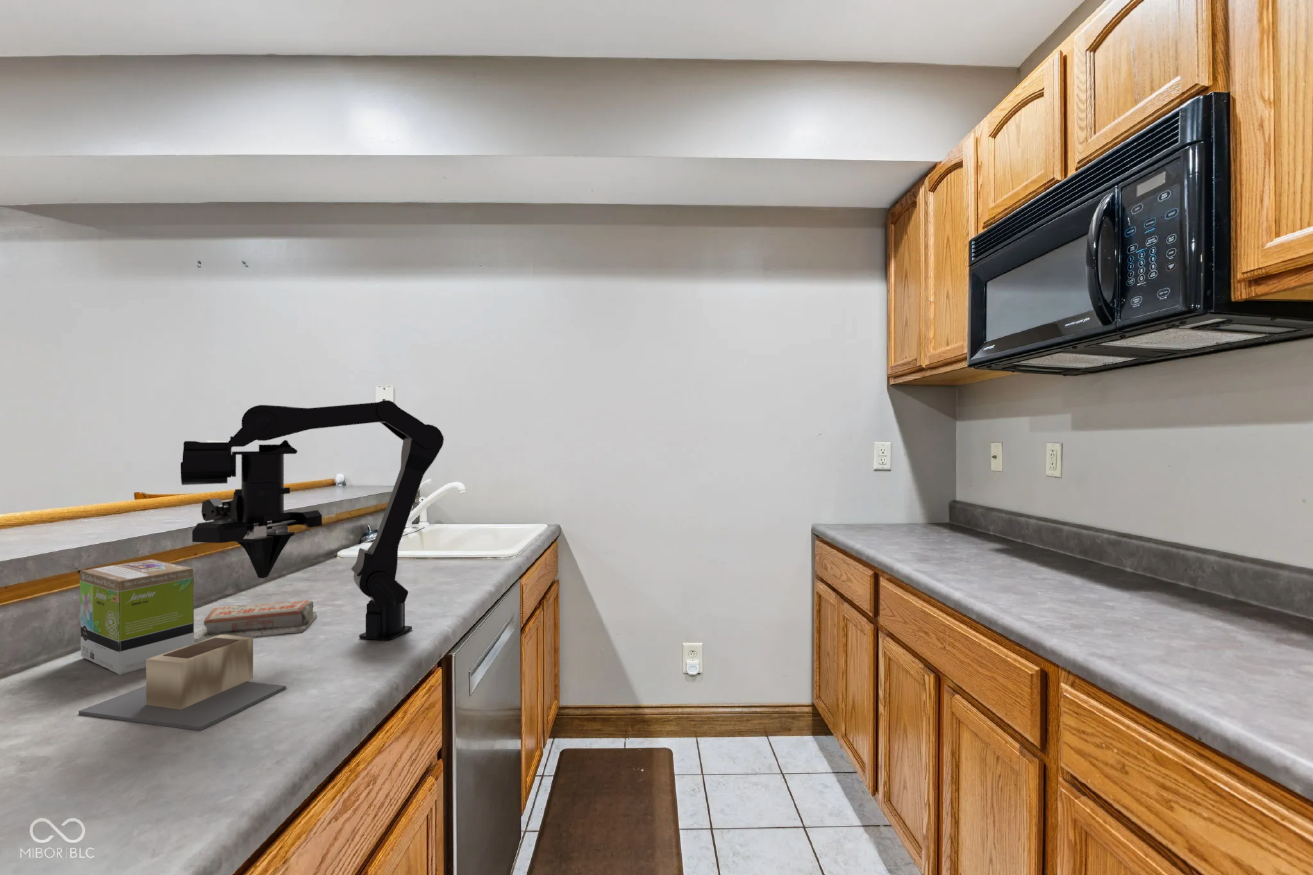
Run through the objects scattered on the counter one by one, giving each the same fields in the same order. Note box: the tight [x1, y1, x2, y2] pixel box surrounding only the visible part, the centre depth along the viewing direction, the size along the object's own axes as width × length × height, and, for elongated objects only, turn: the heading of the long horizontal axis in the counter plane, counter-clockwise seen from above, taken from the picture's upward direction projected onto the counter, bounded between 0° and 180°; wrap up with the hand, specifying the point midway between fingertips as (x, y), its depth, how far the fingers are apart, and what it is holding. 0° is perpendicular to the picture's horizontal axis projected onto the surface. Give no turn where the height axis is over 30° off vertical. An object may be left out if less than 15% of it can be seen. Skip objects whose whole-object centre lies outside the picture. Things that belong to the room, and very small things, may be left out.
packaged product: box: [194, 600, 318, 643], centre depth 107 cm, size 18×5×10 cm
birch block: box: [145, 634, 254, 710], centre depth 79 cm, size 6×6×10 cm
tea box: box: [79, 558, 195, 676], centre depth 93 cm, size 15×10×15 cm
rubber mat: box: [78, 681, 287, 731], centre depth 77 cm, size 12×20×1 cm, turn 77°
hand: (263, 577), depth 92 cm, fingers closed
